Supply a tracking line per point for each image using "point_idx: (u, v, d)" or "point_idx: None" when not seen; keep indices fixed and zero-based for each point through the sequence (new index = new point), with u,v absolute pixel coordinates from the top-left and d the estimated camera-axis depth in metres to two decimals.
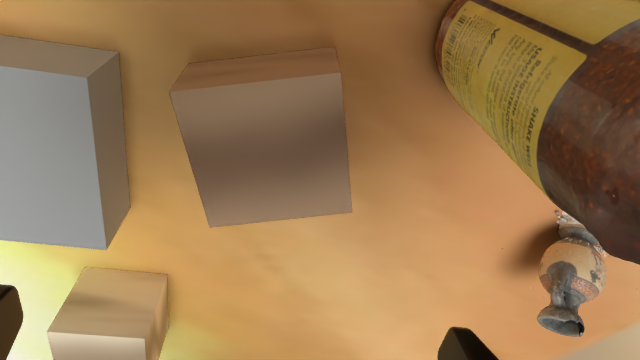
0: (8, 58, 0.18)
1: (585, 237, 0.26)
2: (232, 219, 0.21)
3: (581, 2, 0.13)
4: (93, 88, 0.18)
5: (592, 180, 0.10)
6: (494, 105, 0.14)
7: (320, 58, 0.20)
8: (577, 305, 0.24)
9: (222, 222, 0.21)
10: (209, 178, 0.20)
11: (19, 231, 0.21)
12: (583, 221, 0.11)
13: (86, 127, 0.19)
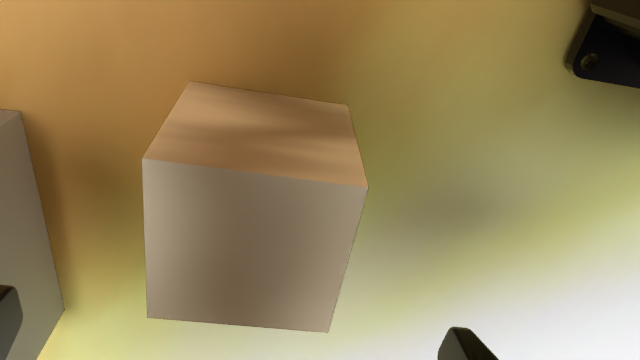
0: None
1: None
2: None
3: None
4: None
5: None
6: None
7: None
8: None
9: None
10: None
11: None
12: None
13: None
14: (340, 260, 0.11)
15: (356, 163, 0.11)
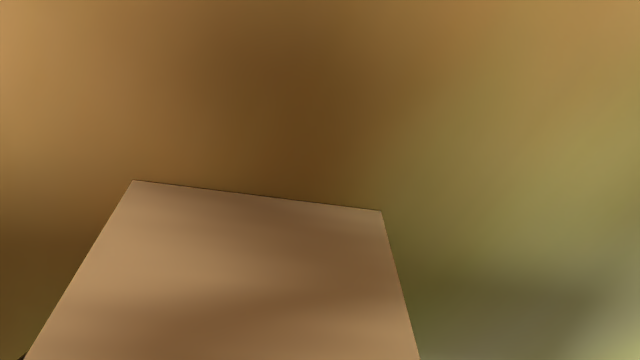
0: None
1: None
2: None
3: None
4: None
5: None
6: None
7: None
8: None
9: None
10: None
11: None
12: None
13: None
14: None
15: None
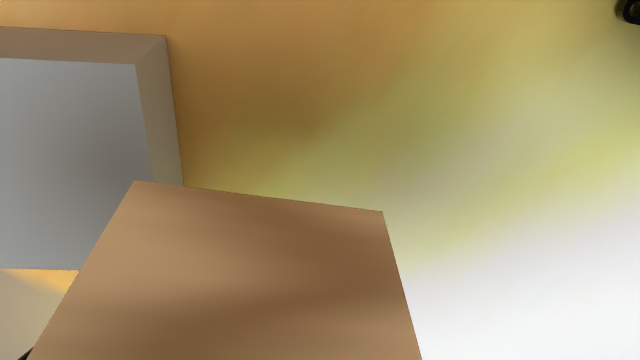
0: None
1: None
2: None
3: None
4: None
5: None
6: None
7: None
8: None
9: None
10: None
11: (133, 170, 0.16)
12: None
13: None
14: None
15: None
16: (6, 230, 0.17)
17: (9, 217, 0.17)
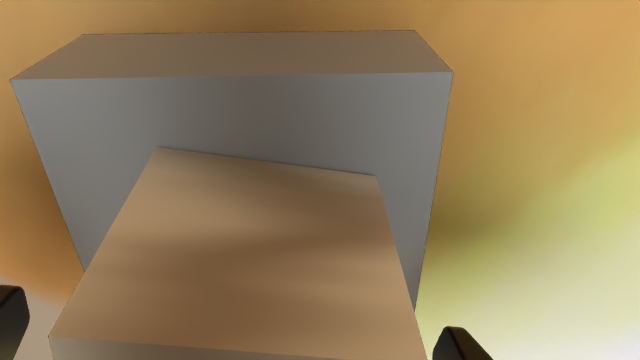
0: None
1: None
2: None
3: None
4: (55, 70, 0.09)
5: None
6: None
7: None
8: None
9: None
10: None
11: (403, 225, 0.11)
12: None
13: (126, 88, 0.09)
14: None
15: (402, 305, 0.07)
16: None
17: None
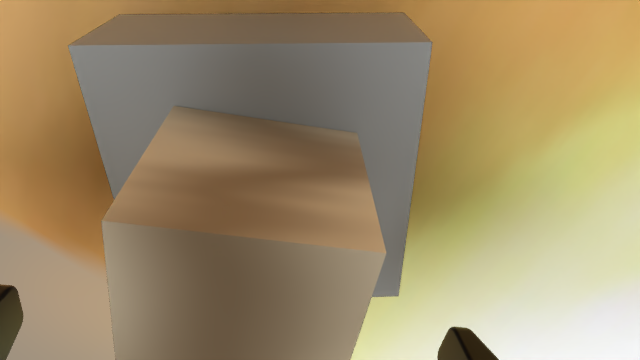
0: None
1: None
2: None
3: None
4: (103, 40, 0.11)
5: None
6: None
7: None
8: None
9: None
10: None
11: (392, 177, 0.13)
12: None
13: (162, 54, 0.11)
14: (349, 333, 0.09)
15: (370, 216, 0.09)
16: None
17: None
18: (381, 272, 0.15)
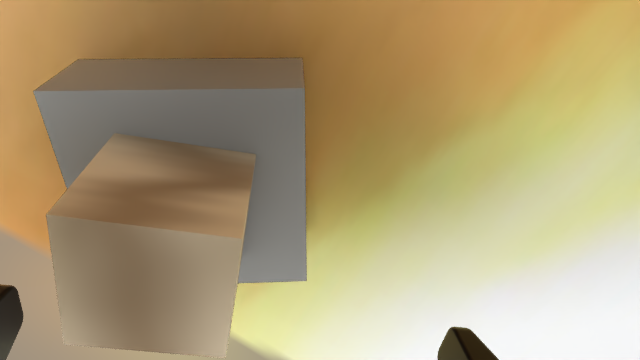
0: None
1: None
2: None
3: None
4: (60, 85, 0.15)
5: None
6: None
7: None
8: None
9: None
10: None
11: (288, 186, 0.17)
12: None
13: (104, 97, 0.15)
14: (227, 297, 0.13)
15: (240, 215, 0.13)
16: None
17: None
18: (290, 261, 0.19)
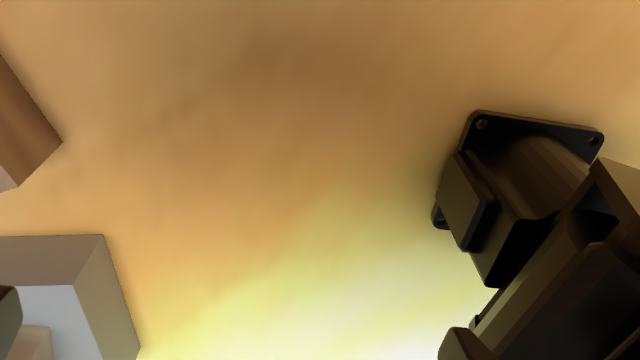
0: None
1: None
2: None
3: None
4: None
5: None
6: None
7: None
8: None
9: (1, 174, 0.17)
10: None
11: (82, 342, 0.22)
12: None
13: None
14: None
15: None
16: None
17: None
18: None
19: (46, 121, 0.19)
